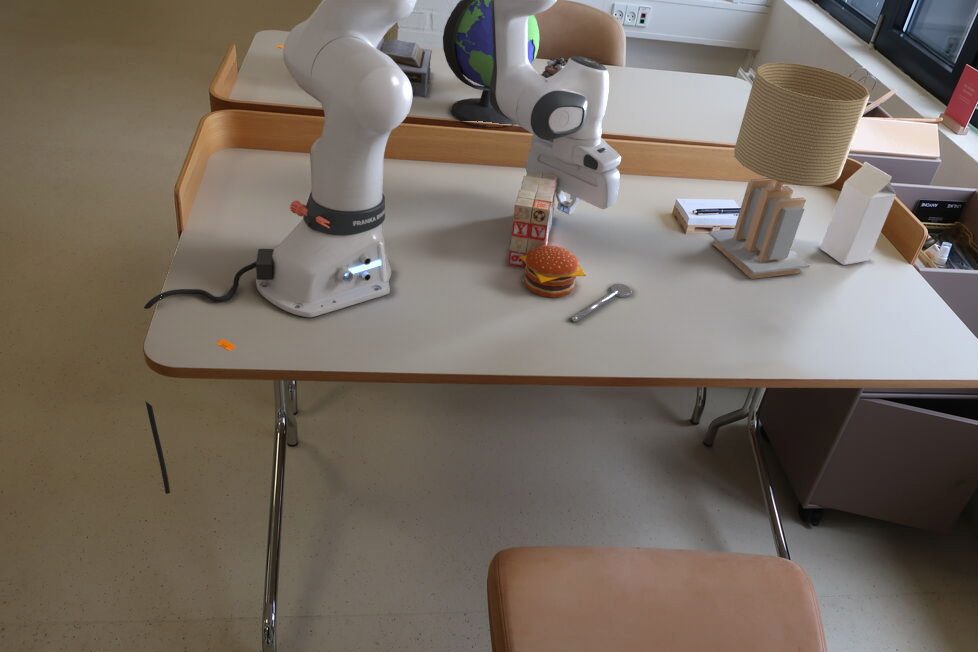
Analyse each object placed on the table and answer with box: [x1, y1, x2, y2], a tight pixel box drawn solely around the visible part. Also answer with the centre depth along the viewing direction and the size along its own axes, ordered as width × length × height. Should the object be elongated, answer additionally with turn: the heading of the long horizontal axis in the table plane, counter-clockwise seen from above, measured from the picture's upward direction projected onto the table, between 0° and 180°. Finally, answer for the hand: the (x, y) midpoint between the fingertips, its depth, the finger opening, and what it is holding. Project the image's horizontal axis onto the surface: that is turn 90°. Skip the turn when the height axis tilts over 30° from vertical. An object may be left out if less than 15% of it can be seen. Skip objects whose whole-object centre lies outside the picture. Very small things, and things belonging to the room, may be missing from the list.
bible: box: [376, 37, 433, 98], centre depth 215 cm, size 23×27×10 cm
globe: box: [442, 0, 540, 129], centre depth 198 cm, size 22×22×30 cm
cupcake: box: [540, 56, 568, 78], centre depth 223 cm, size 10×10×10 cm
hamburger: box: [519, 244, 587, 298], centre depth 143 cm, size 9×10×7 cm
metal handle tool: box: [571, 283, 632, 323], centre depth 142 cm, size 16×4×1 cm, turn 142°
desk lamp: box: [708, 61, 871, 280], centre depth 153 cm, size 20×20×35 cm
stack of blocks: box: [507, 171, 558, 268], centre depth 154 cm, size 21×6×12 cm, turn 174°
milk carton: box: [819, 161, 897, 266], centre depth 164 cm, size 7×7×19 cm
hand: (565, 211), depth 164 cm, fingers closed
